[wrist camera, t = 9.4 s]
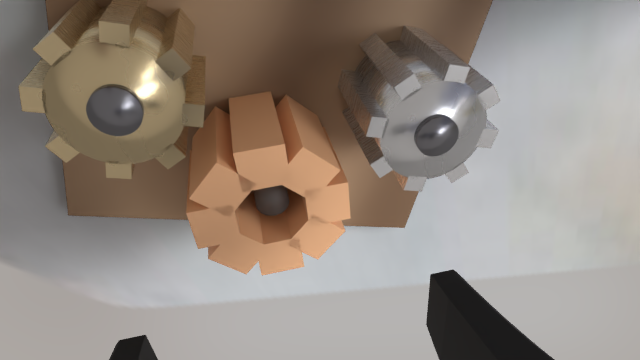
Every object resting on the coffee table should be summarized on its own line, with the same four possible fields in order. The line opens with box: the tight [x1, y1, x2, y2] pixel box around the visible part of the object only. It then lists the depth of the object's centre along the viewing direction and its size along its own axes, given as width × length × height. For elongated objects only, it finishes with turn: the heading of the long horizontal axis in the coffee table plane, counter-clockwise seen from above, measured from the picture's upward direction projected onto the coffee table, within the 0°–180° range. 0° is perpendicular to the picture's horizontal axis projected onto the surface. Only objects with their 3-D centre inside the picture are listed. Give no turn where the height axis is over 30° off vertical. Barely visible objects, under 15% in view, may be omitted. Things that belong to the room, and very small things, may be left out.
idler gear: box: [186, 91, 351, 275], centre depth 17 cm, size 5×5×4 cm
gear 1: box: [18, 0, 206, 179], centre depth 14 cm, size 5×5×4 cm
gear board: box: [45, 0, 493, 228], centre depth 17 cm, size 15×11×4 cm
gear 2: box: [338, 26, 501, 191], centre depth 17 cm, size 5×5×4 cm
